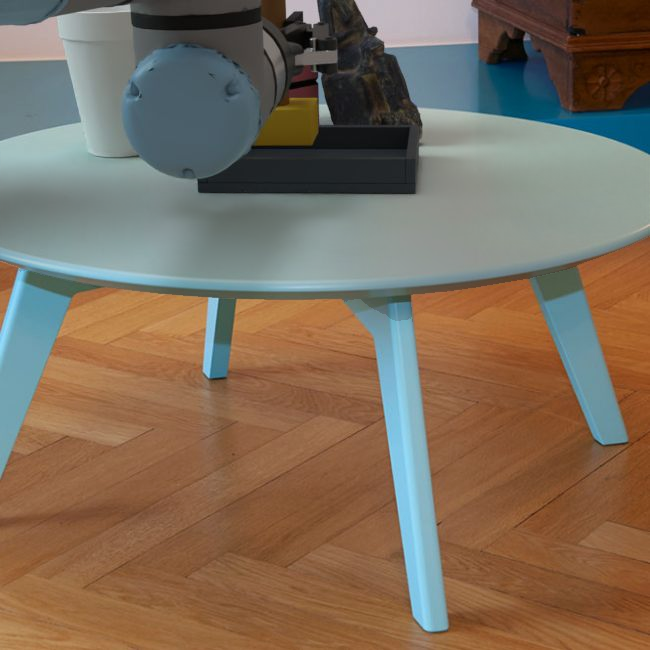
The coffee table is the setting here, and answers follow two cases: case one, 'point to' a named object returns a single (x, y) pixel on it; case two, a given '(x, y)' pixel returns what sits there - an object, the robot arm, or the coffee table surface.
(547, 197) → the coffee table surface
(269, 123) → the sponge brush
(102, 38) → the foam cup
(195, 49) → the robot arm
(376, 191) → the tray
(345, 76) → the statue
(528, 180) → the coffee table surface
